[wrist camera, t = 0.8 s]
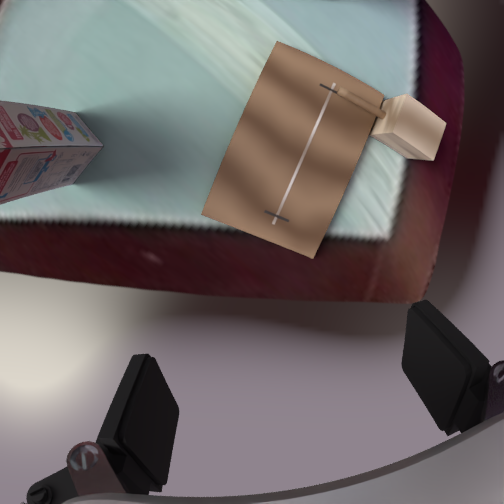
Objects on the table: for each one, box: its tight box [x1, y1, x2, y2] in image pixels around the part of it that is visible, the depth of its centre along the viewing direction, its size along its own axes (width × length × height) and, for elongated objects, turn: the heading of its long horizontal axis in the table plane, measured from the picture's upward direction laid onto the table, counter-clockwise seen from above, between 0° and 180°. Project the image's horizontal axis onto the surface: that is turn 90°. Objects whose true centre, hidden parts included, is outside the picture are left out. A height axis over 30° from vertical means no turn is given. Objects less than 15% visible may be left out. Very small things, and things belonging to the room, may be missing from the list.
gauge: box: [337, 87, 446, 161], centre depth 28 cm, size 5×12×6 cm, turn 67°
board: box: [201, 41, 384, 258], centre depth 31 cm, size 22×14×1 cm, turn 157°
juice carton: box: [0, 101, 103, 205], centre depth 20 cm, size 7×7×22 cm
